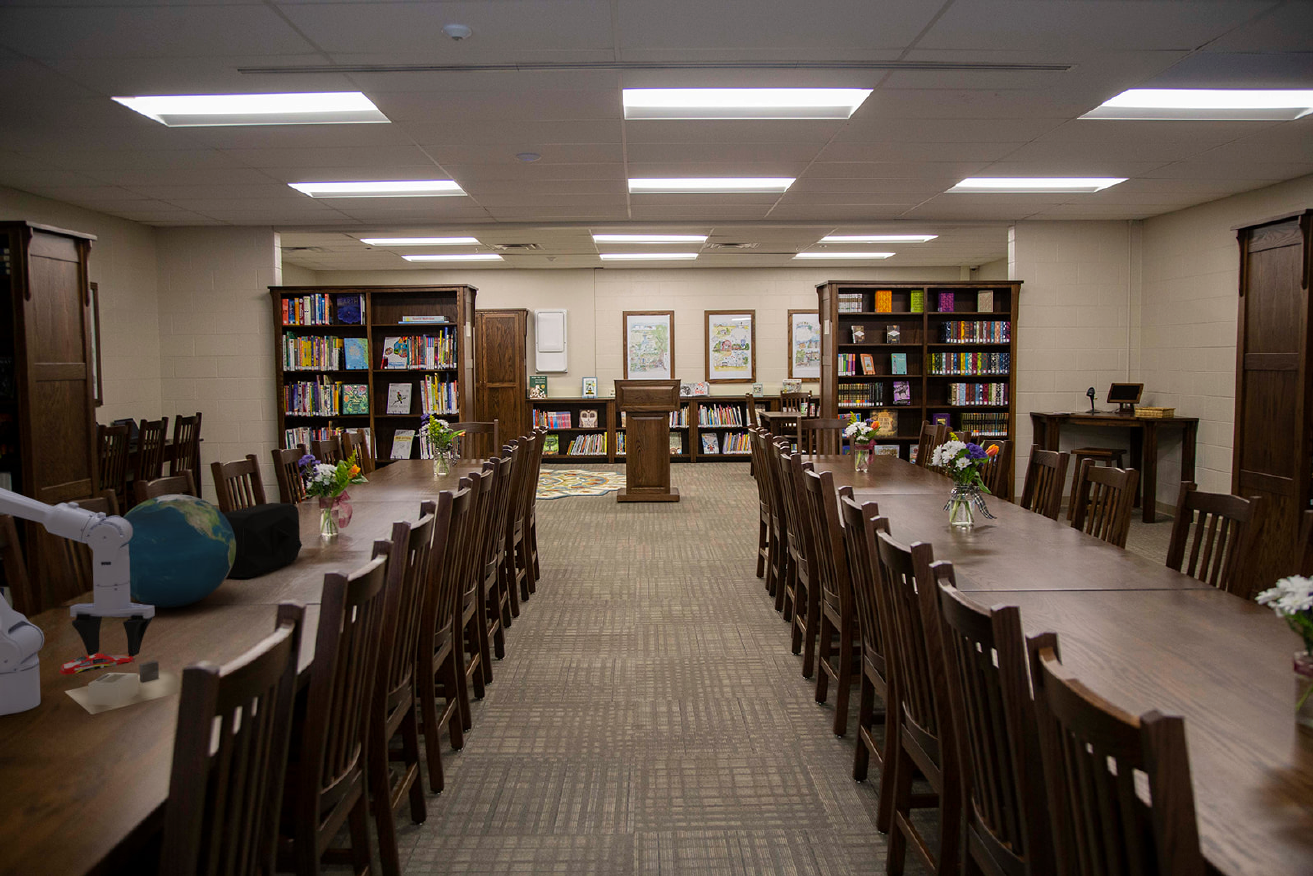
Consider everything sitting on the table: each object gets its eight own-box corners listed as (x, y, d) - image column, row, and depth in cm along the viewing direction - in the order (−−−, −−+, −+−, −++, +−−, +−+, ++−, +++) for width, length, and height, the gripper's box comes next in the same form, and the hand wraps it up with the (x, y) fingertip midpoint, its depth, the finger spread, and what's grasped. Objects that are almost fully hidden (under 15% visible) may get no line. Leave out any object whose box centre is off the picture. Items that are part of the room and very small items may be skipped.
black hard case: (275, 559, 284) (275, 500, 282) (309, 561, 282) (308, 502, 280) (215, 580, 254) (214, 514, 252) (252, 582, 252) (251, 516, 251)
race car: (131, 663, 183) (131, 645, 182) (138, 669, 179) (137, 651, 178) (57, 677, 173) (57, 658, 173) (63, 684, 169) (62, 665, 169)
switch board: (92, 722, 151) (91, 695, 151) (64, 699, 161) (63, 673, 161) (198, 695, 165) (198, 670, 164) (167, 675, 175) (166, 651, 175)
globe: (181, 626, 208) (179, 505, 206) (80, 616, 214) (76, 499, 212) (260, 596, 237) (259, 490, 235) (169, 588, 243) (167, 485, 241)
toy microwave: (119, 705, 155) (118, 683, 155) (89, 704, 155) (88, 682, 155) (138, 694, 161) (137, 672, 160) (108, 693, 161) (108, 671, 160)
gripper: (163, 578, 160) (165, 648, 161) (87, 576, 160) (89, 646, 161) (140, 587, 153) (142, 660, 154) (61, 586, 153) (63, 659, 154)
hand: (113, 654), depth 157 cm, fingers open, 7 cm apart
